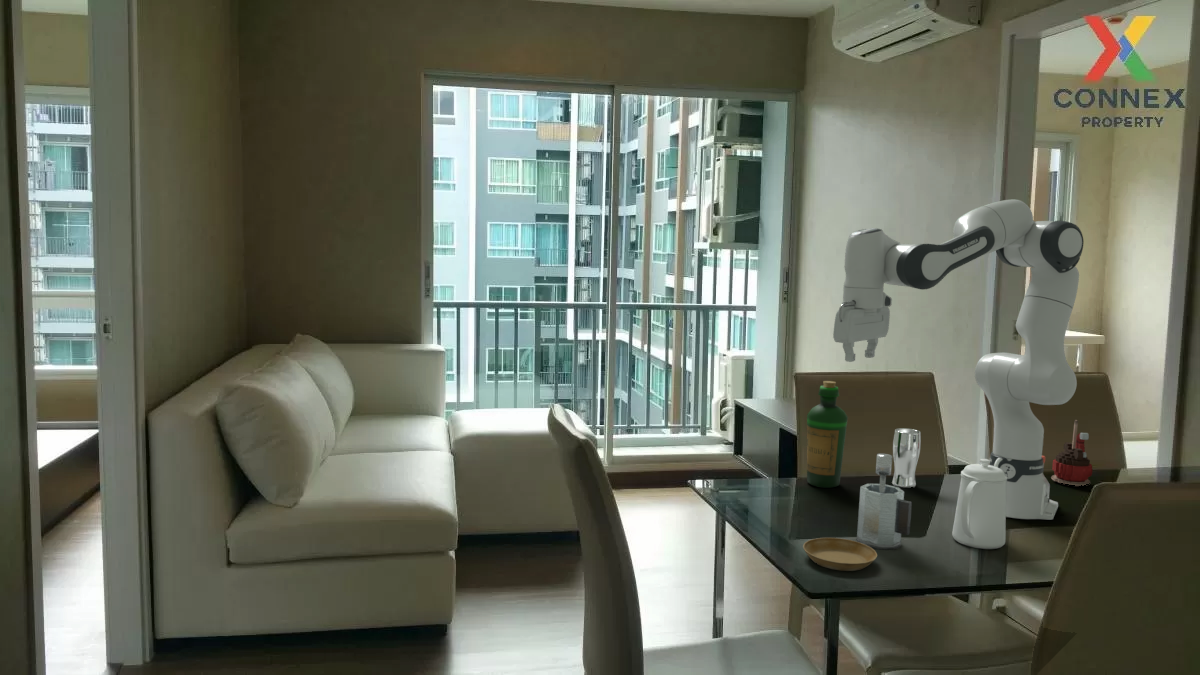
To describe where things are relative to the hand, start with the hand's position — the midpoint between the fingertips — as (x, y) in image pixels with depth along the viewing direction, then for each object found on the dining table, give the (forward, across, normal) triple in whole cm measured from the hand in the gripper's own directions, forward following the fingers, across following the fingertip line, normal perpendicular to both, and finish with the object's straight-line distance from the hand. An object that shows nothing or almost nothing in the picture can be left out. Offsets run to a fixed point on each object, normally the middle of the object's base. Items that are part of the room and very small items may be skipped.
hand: (859, 359), depth 207 cm
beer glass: (+39, +39, +5) cm, 56 cm away
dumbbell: (+36, -10, -12) cm, 39 cm away
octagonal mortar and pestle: (+38, -10, -12) cm, 41 cm away
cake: (+40, +78, -25) cm, 92 cm away
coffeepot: (+39, +8, -27) cm, 48 cm away
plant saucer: (+38, -27, -11) cm, 49 cm away
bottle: (+39, +22, +20) cm, 49 cm away
